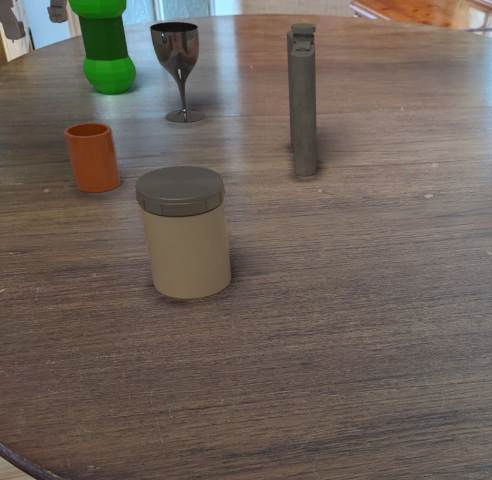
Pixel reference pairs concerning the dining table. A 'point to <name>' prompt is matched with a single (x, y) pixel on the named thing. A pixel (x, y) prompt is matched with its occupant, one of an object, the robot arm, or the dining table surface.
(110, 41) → the plastic bottle
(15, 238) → the dining table surface
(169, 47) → the wine glass
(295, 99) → the hip flask
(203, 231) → the jar
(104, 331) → the dining table surface
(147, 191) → the jar lid
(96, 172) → the cup
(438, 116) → the dining table surface
